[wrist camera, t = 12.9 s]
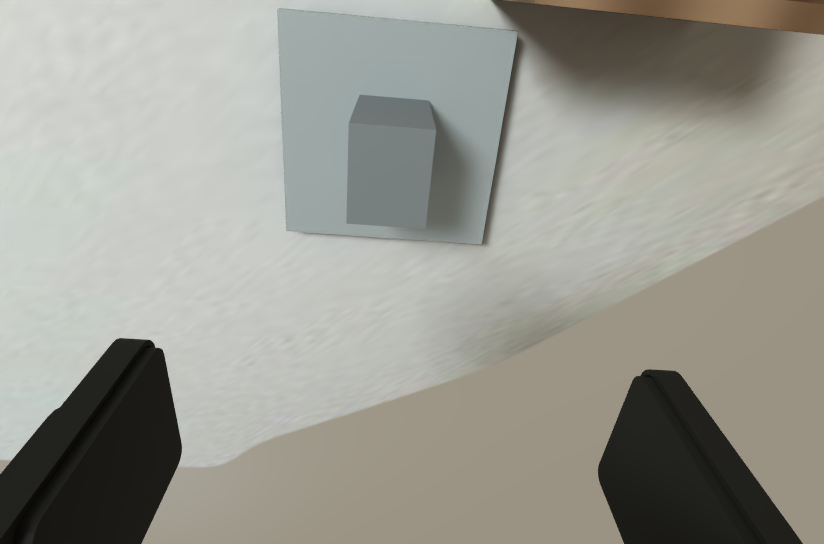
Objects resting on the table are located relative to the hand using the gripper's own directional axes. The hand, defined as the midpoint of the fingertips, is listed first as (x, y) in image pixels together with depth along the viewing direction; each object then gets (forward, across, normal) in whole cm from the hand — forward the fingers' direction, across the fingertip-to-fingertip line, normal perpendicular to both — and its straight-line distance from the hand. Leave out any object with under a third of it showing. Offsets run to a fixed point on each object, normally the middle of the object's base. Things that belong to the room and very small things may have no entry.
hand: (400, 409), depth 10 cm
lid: (+24, 0, +1) cm, 25 cm away
